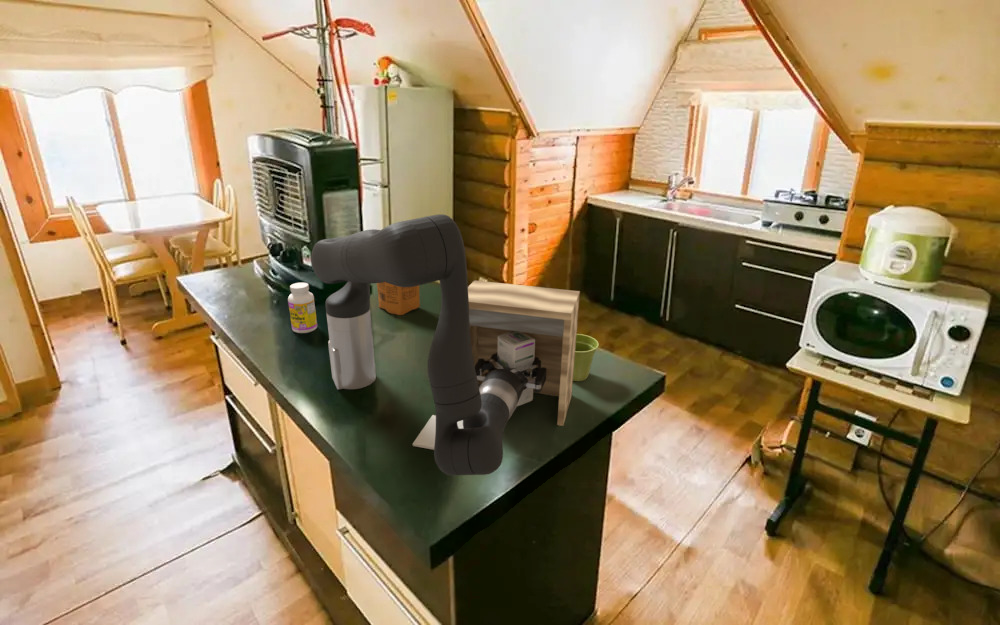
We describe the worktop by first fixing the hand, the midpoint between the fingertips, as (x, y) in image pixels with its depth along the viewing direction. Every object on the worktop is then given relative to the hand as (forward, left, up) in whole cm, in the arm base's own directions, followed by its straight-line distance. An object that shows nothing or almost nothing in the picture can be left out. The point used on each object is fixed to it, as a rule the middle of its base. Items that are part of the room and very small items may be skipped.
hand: (517, 358), depth 112 cm
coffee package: (-7, +62, -10) cm, 63 cm away
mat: (-18, -5, -10) cm, 21 cm away
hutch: (0, 0, -10) cm, 10 cm away
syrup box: (-1, -1, -9) cm, 9 cm away
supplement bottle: (-35, +58, -10) cm, 68 cm away
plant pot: (+18, +4, -10) cm, 21 cm away
